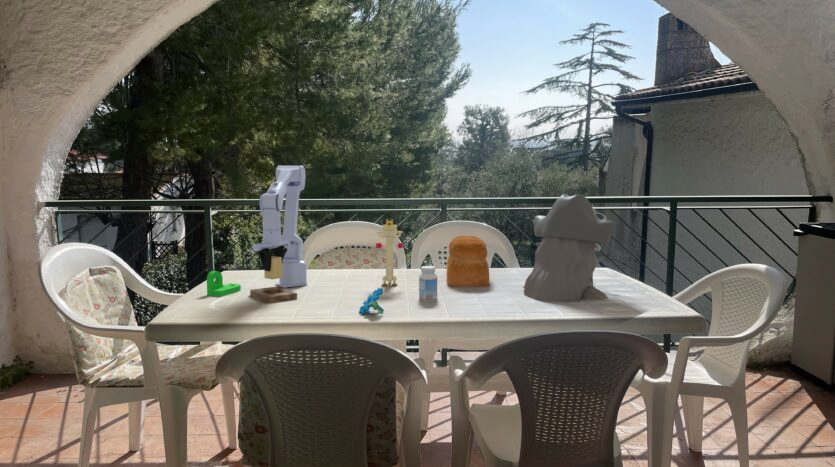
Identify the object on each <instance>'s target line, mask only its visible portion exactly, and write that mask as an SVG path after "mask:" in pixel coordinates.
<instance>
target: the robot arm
mask: <svg viewBox="0 0 835 467" xmlns="http://www.w3.org/2000/svg"><path fill="white" fill-rule="evenodd" d="M306 176H307V175H306V168H305V166H303V165H301V164H300V165H277V166H276V169H275V179H276V181H273V182H271V184H270V186H269V188H268V190H267V191H266V193H265V192H264V193H263V194H261V195H260V198H259V202H258V203H259V208H260V214H261V217H262V242H260V243H256V244H253V245H252V247H253V248H252V251H254V252H256V253H257V255H258V256H259V258H260V260H261V263H262V266H263V269H264V270H265V271H270V270H271V258H272V256H278V257H282V278H278V279H279V280H278V282H275V285H277V286H282V287H284V288H286V289H287V288H293V287H294V288H295V287H302V286H308V282H307V266H306V265H307V264H306V262H305V261H304V260H302V259H303V258H304V255H305V254H304V252H305V251H304V250H305V249H304V241H303V239H302V238H301V237H299V236H298V235H297V228H298V215H299V202H300V195H301V191H303V190H305V186H306ZM284 198H285V206H284V220H283V232H281V231H282V230H281V229H282V228H281V222H282V221H281V211H282V210H283V204H284ZM281 233H282V234H281ZM264 270H263V271H264Z"/></svg>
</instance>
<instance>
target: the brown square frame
mask: <svg viewBox="0 0 835 467" xmlns="http://www.w3.org/2000/svg"><path fill="white" fill-rule="evenodd" d="M249 292H250V294H249V295H250V296H251V297H252V298H253V299H256V300H258V301H260V302H261V303H263V304H272V303H278V302H284V301H285V302H286V301H292V300H297V299H298V293H297V292H294V291H293V290H290V289H289V288H287V287H286V288H284V287H282V286H278V285H277V286H270V287H263V288H262V287H261V288H255V289H252V288H251V289H249Z"/></svg>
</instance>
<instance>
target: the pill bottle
mask: <svg viewBox="0 0 835 467" xmlns="http://www.w3.org/2000/svg"><path fill="white" fill-rule="evenodd" d="M420 271H421V273H420V274H419V275H418V288H419V289H418V299H419V301H423V302H434V301H437V300H438V275H437V273H435V272H436V267H435V266H434V265H423V266H421V268H420Z"/></svg>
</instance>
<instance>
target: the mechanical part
mask: <svg viewBox="0 0 835 467" xmlns="http://www.w3.org/2000/svg"><path fill="white" fill-rule="evenodd" d="M206 291H207V292H206V295H208V296H214V297H223V296H227V295H231V294H234V293H236V292H240V291H242V286H241V284H240V283H232V282H230V283H226V284H223V274H222V273H221V272H220V271H219V270H218V271H217V270H211V271H210V272H208V274H207V275H206Z"/></svg>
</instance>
